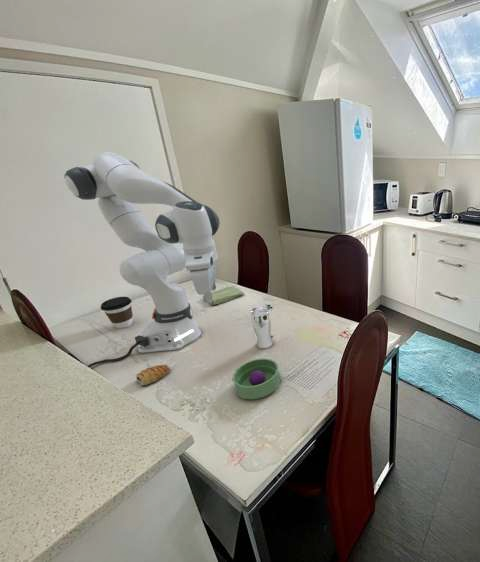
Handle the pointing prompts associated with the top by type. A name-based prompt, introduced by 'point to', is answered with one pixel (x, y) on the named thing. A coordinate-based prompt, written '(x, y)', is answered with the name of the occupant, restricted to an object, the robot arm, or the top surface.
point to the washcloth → (225, 295)
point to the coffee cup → (119, 311)
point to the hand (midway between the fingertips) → (211, 295)
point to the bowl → (261, 390)
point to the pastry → (152, 374)
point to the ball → (256, 378)
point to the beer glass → (262, 327)
